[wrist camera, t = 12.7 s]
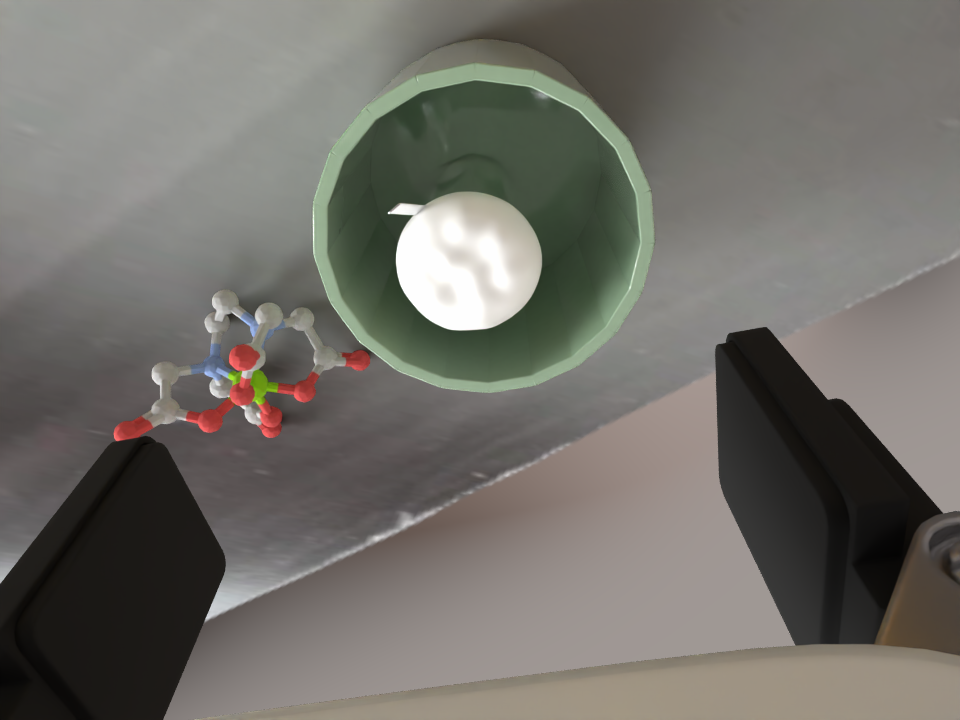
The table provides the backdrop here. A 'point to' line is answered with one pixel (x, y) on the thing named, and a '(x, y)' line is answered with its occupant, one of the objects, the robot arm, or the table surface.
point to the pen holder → (542, 193)
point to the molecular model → (249, 379)
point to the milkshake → (468, 248)
